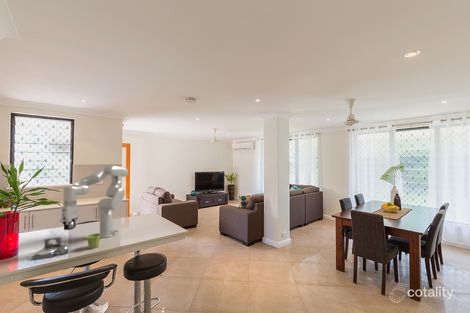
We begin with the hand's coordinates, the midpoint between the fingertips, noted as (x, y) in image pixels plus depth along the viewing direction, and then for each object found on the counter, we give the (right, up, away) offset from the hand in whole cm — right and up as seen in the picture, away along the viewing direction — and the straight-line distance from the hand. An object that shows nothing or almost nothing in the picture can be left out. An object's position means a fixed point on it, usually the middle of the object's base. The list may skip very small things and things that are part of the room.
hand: (69, 228), depth 154 cm
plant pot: (+14, -16, +5) cm, 22 cm away
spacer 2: (0, -1, 0) cm, 1 cm away
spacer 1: (0, -16, -6) cm, 17 cm away
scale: (-11, -16, -5) cm, 20 cm away
